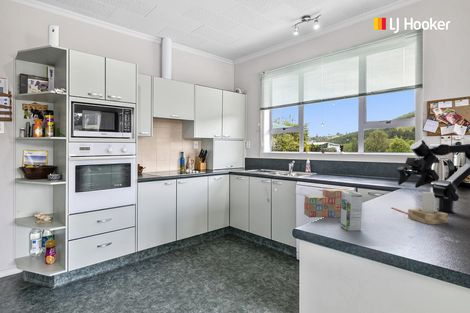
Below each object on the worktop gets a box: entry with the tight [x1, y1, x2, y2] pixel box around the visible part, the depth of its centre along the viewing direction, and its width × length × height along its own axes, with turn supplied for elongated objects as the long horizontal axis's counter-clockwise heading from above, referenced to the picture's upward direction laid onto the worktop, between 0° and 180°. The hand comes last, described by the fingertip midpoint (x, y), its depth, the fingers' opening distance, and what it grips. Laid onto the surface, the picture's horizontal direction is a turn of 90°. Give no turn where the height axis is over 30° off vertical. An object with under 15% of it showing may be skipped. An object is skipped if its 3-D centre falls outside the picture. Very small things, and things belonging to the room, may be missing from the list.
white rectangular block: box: [421, 191, 435, 213], centre depth 114 cm, size 4×4×12 cm
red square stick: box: [391, 207, 408, 215], centre depth 130 cm, size 14×1×1 cm, turn 1°
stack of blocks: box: [303, 188, 352, 218], centre depth 121 cm, size 21×6×12 cm, turn 97°
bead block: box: [407, 208, 449, 225], centre depth 115 cm, size 10×10×4 cm
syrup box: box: [340, 190, 363, 232], centre depth 102 cm, size 6×6×14 cm
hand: (406, 185), depth 127 cm, fingers open, 9 cm apart
